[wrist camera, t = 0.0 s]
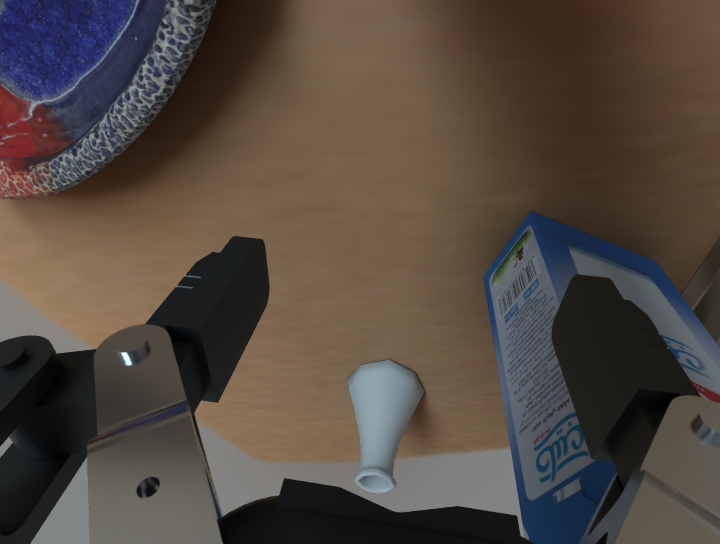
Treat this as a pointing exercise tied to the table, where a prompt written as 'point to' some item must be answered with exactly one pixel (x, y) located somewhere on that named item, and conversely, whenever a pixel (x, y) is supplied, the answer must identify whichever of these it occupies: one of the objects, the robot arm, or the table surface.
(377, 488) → the flask
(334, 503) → the robot arm
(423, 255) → the table surface
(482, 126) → the table surface
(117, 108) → the dish
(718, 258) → the caddy
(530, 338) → the milk carton
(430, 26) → the table surface
